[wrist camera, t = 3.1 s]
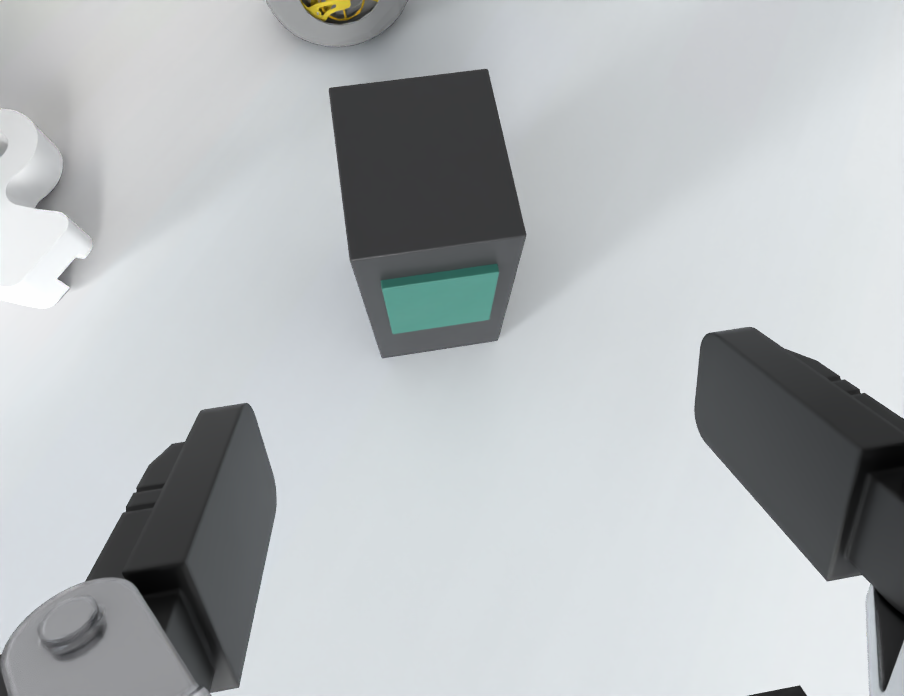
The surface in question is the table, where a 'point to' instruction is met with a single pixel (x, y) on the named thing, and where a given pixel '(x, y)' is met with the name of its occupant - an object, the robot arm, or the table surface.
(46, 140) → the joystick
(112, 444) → the table surface
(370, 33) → the pocket watch
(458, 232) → the dark grey rectangular block
